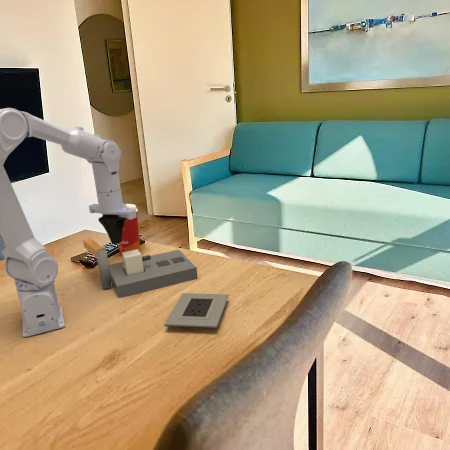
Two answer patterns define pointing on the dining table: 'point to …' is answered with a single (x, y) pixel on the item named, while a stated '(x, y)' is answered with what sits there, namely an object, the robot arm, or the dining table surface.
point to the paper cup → (130, 233)
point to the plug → (134, 262)
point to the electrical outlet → (197, 311)
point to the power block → (153, 273)
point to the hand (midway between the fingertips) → (116, 242)
